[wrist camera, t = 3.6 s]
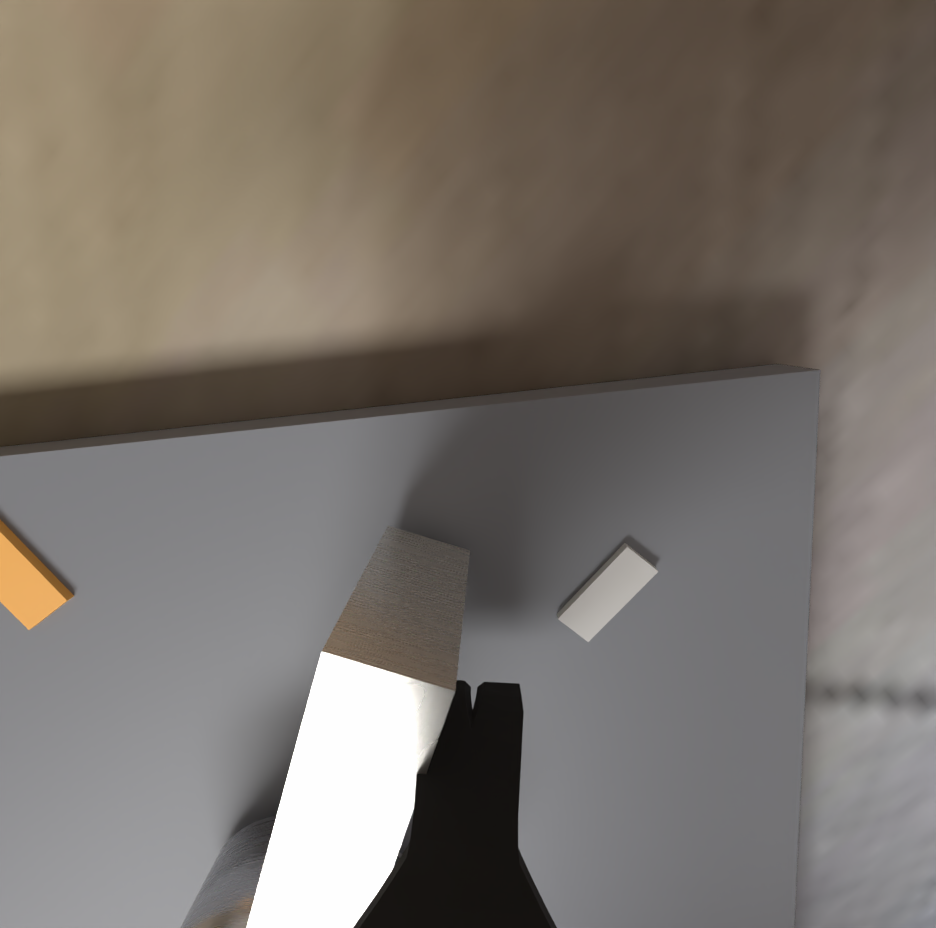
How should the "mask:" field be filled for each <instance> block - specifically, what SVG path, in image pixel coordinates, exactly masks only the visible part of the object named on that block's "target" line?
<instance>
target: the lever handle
mask: <svg viewBox="0 0 936 928" xmlns="http://www.w3.org/2000/svg"><path fill="white" fill-rule="evenodd" d="M469 556H470V550H466V549H463V548H460V547H457V546H453V545H450V544H447V543H443V542H440V541H437V540H434V539H430V538H427V537H424V536H421V535H417V534H414V533H411V532H407V531H404V530H401V529H398V528H394V527H391V526H387V528H386V530H385V532H384V534H383V536H382V538H381V540H380V542H379V543H378V545H377V547H376V549H375V551H374V553H373V555H372V557H371V559H370V561H369V562H368V564H367V566H366V568H365V570H364V572H363V574H362V576H361V578H360V579H359V581H358V583H357V585H356V587H355V589H354V591H353V593H352V595H351V597H350V598H349V600H348V602H347V604H346V606H345V608H344V610H343V612H342V614H341V615H340V617H339V619H338V621H337V623H336V625H335V627H334V629H333V631H332V633H331V634H330V636H329V638H328V640H327V642H326V644H325V646H324V648H323V650H322V652H321V655H320V659H319V663H318V666H317V670H316V674H315V677H314V681H313V685H312V688H311V692H310V696H309V699H308V703H307V707H306V710H305V714H304V718H303V722H302V725H301V729H300V733H299V736H298V740H297V744H296V747H295V751H294V755H293V758H292V762H291V766H290V769H289V773H288V777H287V780H286V784H285V788H284V792H283V795H282V799H281V803H280V806H279V810H278V814H277V815H274V816H270V817H267V818H264V819H261V820H258V821H256V822H254V823H252V824H250V825H248V826H246V827H245V828H243V829H242V830H240V831H239V832H237V833H236V834H235V835H234V836H233V837H232V838H231V839H229V840H228V841H227V843H226V844H225V845H224V847H223V848H222V849H221V851H220V853H219V854H218V856H217V858H216V860H215V862H214V864H213V866H212V868H211V870H210V872H209V873H208V875H207V877H206V879H205V881H204V883H203V885H202V887H201V889H200V891H199V893H198V895H197V897H196V898H195V900H194V902H193V904H192V906H191V908H190V910H189V912H188V914H187V916H186V918H185V920H184V922H183V923H182V925H181V927H180V928H353V927H354V925H355V924H356V922H357V921H358V920H359V918H360V917H361V915H362V914H363V913H364V911H365V910H366V908H367V907H368V905H369V904H370V903H371V901H372V900H373V898H374V897H375V895H376V894H377V893H378V891H379V890H380V888H381V887H382V885H383V883H384V882H385V880H386V879H387V877H388V876H389V874H390V873H391V871H392V869H393V868H394V866H395V865H396V863H397V862H398V860H399V858H400V857H401V855H402V853H401V852H400V851H399V849H400V846H401V843H402V840H403V838H404V835H405V832H406V829H407V826H408V823H409V821H410V818H411V815H412V812H413V809H414V802H415V788H416V775H417V774H426V773H427V770H428V767H429V764H430V761H431V759H432V756H433V753H434V750H435V747H436V744H437V742H438V739H439V736H440V733H441V730H442V727H443V725H444V722H445V719H446V716H447V713H448V711H449V708H450V705H451V702H452V699H453V696H454V694H455V690H456V680H457V671H458V661H459V651H460V642H461V632H462V623H463V613H464V604H465V594H466V584H467V575H468V565H469Z"/></svg>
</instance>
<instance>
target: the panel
mask: <svg viewBox="0 0 936 928" xmlns="http://www.w3.org/2000/svg"><path fill="white" fill-rule="evenodd" d="M819 389H820V370H817V369H810V368H803V367H795V366H788V365H781V364H772V365H763V366H753V367H744V368H735V369H725V370H716V371H707V372H697V373H688V374H679V375H669V376H660V377H650V378H641V379H632V380H622V381H613V382H604V383H594V384H585V385H576V386H566V387H557V388H548V389H538V390H529V391H519V392H510V393H501V394H491V395H482V396H473V397H463V398H454V399H445V400H435V401H426V402H416V403H407V404H398V405H388V406H379V407H370V408H360V409H351V410H342V411H332V412H323V413H313V414H304V415H295V416H285V417H276V418H267V419H257V420H248V421H239V422H229V423H220V424H210V425H201V426H192V427H182V428H173V429H164V430H154V431H145V432H136V433H126V434H117V435H107V436H98V437H89V438H79V439H70V440H61V441H51V442H42V443H33V444H23V445H14V446H4V447H0V928H180V927H181V925H182V923H183V922H184V920H185V918H186V916H187V914H188V912H189V910H190V908H191V906H192V904H193V902H194V900H195V898H196V897H197V895H198V893H199V891H200V889H201V887H202V885H203V883H204V881H205V879H206V877H207V875H208V873H209V872H210V870H211V868H212V866H213V864H214V862H215V860H216V858H217V856H218V854H219V853H220V851H221V849H222V848H223V847H224V845H225V844H226V843H227V841H228V840H229V839H231V838H232V837H233V836H234V835H235V834H236V833H237V832H239V831H240V830H242V829H243V828H245V827H246V826H248V825H250V824H252V823H254V822H256V821H258V820H261V819H264V818H267V817H270V816H274V815H277V814H278V810H279V806H280V803H281V799H282V795H283V792H284V788H285V784H286V780H287V777H288V773H289V769H290V766H291V762H292V758H293V755H294V751H295V747H296V744H297V740H298V736H299V733H300V729H301V725H302V722H303V718H304V714H305V710H306V707H307V703H308V699H309V696H310V692H311V688H312V685H313V681H314V677H315V674H316V670H317V666H318V663H319V659H320V655H321V652H322V650H323V648H324V646H325V644H326V642H327V640H328V638H329V636H330V634H331V633H332V631H333V629H334V627H335V625H336V623H337V621H338V619H339V617H340V615H341V614H342V612H343V610H344V608H345V606H346V604H347V602H348V600H349V598H350V597H351V595H352V593H353V591H354V589H355V587H356V585H357V583H358V581H359V579H360V578H361V576H362V574H363V572H364V570H365V568H366V566H367V564H368V562H369V561H370V559H371V557H372V555H373V553H374V551H375V549H376V547H377V545H378V543H379V542H380V540H381V538H382V536H383V534H384V532H385V530H386V528H387V526H391V527H394V528H398V529H401V530H404V531H407V532H411V533H414V534H417V535H421V536H424V537H427V538H430V539H434V540H437V541H440V542H443V543H447V544H450V545H453V546H457V547H460V548H463V549H466V550H470V556H469V565H468V575H467V584H466V594H465V604H464V613H463V623H462V632H461V642H460V651H459V661H458V671H457V680H463V681H466V682H467V683H468V684H469V686H470V687H471V702H472V709H473V706H474V702H475V699H476V693H477V687H478V686H479V685H481V684H482V683H483V682H500V683H519V684H520V689H521V695H522V703H523V711H524V715H523V734H522V754H521V773H520V793H519V812H518V848H519V850H520V853H521V855H522V857H523V860H524V862H525V864H526V866H527V868H528V871H529V873H530V875H531V877H532V879H533V881H534V883H535V885H536V887H537V889H538V891H539V893H540V895H541V897H542V899H543V902H544V904H545V906H546V908H547V910H548V912H549V913H550V915H551V917H552V919H553V921H554V923H555V925H556V927H557V928H794V925H795V903H796V882H797V860H798V839H799V818H800V796H801V775H802V753H803V732H804V711H805V689H806V668H807V646H808V625H809V603H810V582H811V561H812V539H813V518H814V496H815V475H816V454H817V432H818V411H819ZM413 814H414V809H413V812H412V815H411V818H410V821H409V823H408V826H407V829H406V832H405V835H404V838H403V840H402V843H401V846H400V849H399V851H400V852H401V853H402V854H403V852H404V850H405V849H406V847H407V845H408V844H409V842H410V837H411V829H412V821H413Z"/></svg>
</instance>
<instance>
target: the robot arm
mask: <svg viewBox="0 0 936 928" xmlns="http://www.w3.org/2000/svg"><path fill="white" fill-rule="evenodd" d="M523 715H524V711H523V703H522V695H521V689H520V684H519V683H500V682H483V683H482V684H481V685H479V686H478V687H477V693H476V699H475V702H474V706H473V709H472V702H471V687H470V686H469V684H468V683H467V682H466V681H463V680H456V690H455V694H454V696H453V699H452V702H451V705H450V708H449V711H448V713H447V716H446V719H445V722H444V725H443V727H442V730H441V733H440V736H439V739H438V742H437V744H436V747H435V750H434V753H433V756H432V759H431V761H430V764H429V767H428V770H427V773H426V774H417V775H416V788H415V802H414V814H413V821H412V829H411V837H410V842H409V844H408V845H407V847H406V849H405V850H404V852H403V854H402V855H401V857H400V858H399V860H398V862H397V863H396V865H395V866H394V868H393V869H392V871H391V873H390V874H389V876H388V877H387V879H386V880H385V882H384V883H383V885H382V887H381V888H380V890H379V891H378V893H377V894H376V895H375V897H374V898H373V900H372V901H371V903H370V904H369V905H368V907H367V908H366V910H365V911H364V913H363V914H362V915H361V917H360V918H359V920H358V921H357V922H356V924H355V925H354V927H353V928H557V927H556V925H555V923H554V921H553V919H552V917H551V915H550V913H549V912H548V910H547V908H546V906H545V904H544V902H543V899H542V897H541V895H540V893H539V891H538V889H537V887H536V885H535V883H534V881H533V879H532V877H531V875H530V873H529V871H528V868H527V866H526V864H525V862H524V860H523V857H522V855H521V853H520V850H519V848H518V812H519V793H520V773H521V754H522V734H523Z"/></svg>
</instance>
